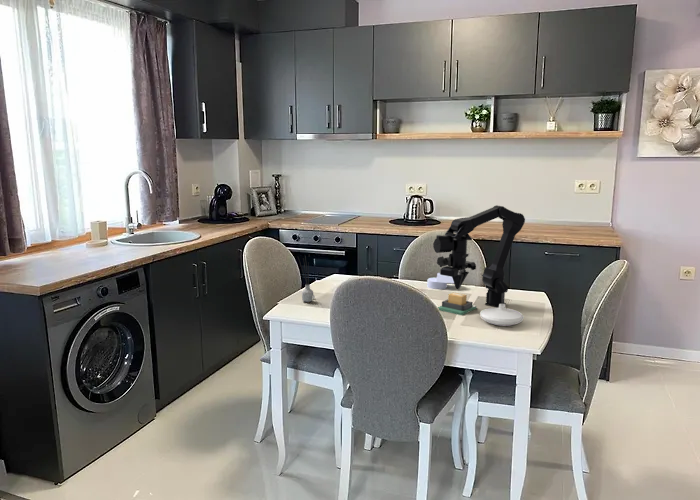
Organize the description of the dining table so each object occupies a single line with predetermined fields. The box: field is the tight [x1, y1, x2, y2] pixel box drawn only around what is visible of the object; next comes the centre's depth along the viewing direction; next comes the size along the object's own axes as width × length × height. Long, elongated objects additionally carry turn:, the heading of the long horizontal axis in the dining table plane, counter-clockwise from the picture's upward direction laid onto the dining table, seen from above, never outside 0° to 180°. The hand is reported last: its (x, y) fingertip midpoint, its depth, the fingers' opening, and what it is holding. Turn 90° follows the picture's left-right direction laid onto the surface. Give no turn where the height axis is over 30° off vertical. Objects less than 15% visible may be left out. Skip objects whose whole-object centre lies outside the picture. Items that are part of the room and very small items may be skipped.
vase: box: [479, 304, 525, 327], centre depth 206 cm, size 16×16×7 cm
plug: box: [447, 292, 467, 305], centre depth 223 cm, size 6×4×5 cm, turn 50°
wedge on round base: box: [426, 272, 454, 290], centre depth 257 cm, size 9×7×13 cm
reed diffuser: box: [297, 254, 315, 303], centre depth 232 cm, size 10×7×20 cm
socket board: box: [438, 298, 477, 316], centre depth 223 cm, size 11×12×3 cm
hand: (457, 289), depth 222 cm, fingers closed
